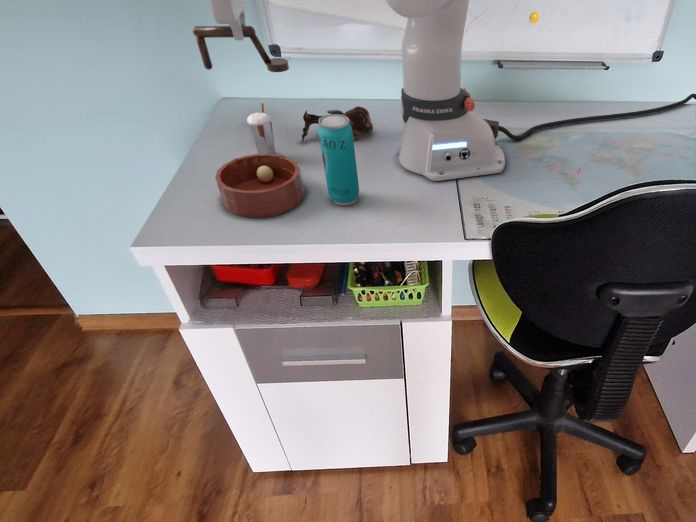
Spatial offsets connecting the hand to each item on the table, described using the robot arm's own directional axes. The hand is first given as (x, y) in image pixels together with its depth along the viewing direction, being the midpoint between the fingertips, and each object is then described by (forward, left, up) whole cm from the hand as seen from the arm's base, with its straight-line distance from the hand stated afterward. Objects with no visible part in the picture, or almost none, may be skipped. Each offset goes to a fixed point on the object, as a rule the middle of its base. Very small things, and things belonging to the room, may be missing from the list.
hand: (241, 36), depth 108 cm
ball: (-4, +26, -17) cm, 31 cm away
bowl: (-4, +30, -19) cm, 36 cm away
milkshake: (-3, +14, -19) cm, 24 cm away
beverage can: (-19, +32, -19) cm, 42 cm away
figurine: (-17, +4, -19) cm, 26 cm away
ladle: (0, 0, -6) cm, 6 cm away
